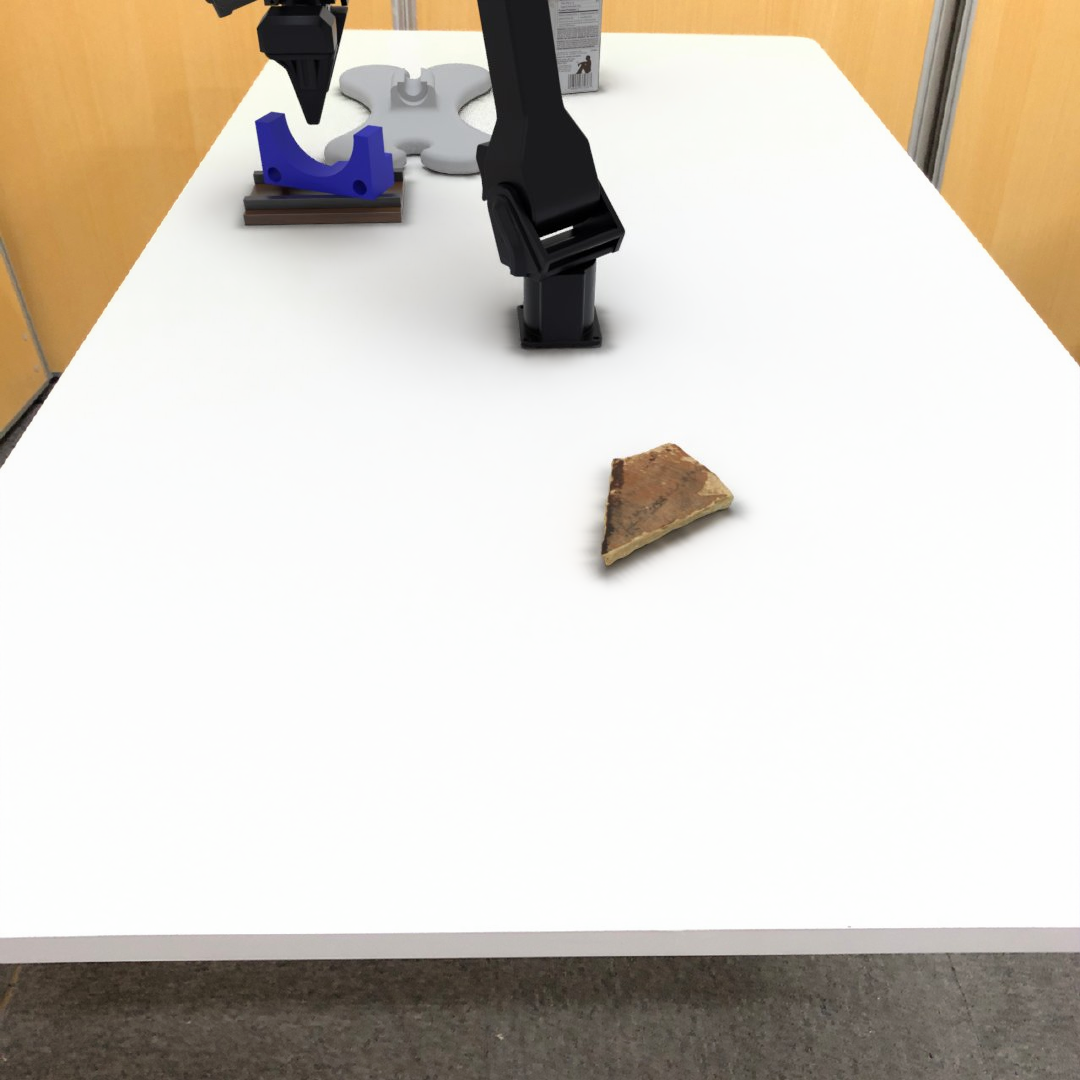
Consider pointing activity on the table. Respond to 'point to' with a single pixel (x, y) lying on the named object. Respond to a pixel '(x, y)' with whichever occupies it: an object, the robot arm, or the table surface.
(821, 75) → the table surface
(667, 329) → the table surface
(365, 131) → the blue cradle block
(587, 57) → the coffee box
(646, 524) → the shard
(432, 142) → the holder
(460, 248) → the table surface
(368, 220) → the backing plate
